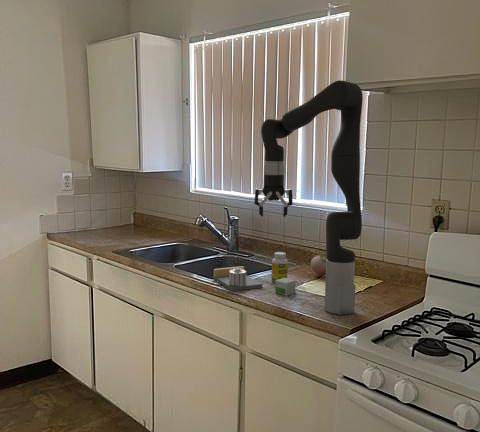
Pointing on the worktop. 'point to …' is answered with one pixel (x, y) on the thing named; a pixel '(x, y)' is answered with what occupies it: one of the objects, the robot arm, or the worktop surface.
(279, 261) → the pill bottle
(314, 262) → the decorative fruit
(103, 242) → the worktop surface
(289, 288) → the small box
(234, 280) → the planet gear
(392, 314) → the worktop surface
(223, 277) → the carrier
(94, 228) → the worktop surface
